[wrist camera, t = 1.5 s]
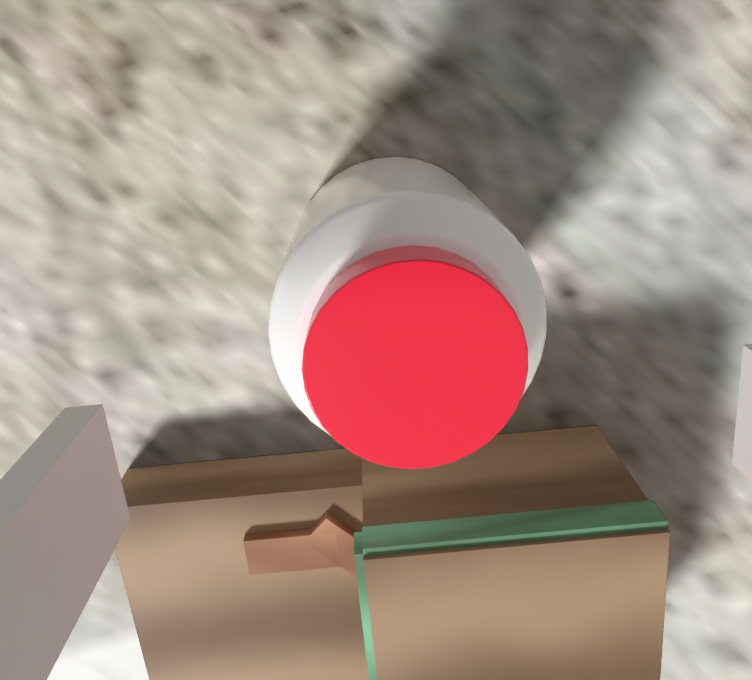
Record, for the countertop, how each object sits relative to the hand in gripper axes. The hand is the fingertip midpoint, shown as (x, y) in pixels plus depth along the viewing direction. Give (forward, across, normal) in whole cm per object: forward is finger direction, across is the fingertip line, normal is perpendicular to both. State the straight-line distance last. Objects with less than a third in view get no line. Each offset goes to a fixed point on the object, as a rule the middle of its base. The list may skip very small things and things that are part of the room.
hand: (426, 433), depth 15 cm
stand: (+14, -2, -14) cm, 19 cm away
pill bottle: (+14, 0, 0) cm, 14 cm away
